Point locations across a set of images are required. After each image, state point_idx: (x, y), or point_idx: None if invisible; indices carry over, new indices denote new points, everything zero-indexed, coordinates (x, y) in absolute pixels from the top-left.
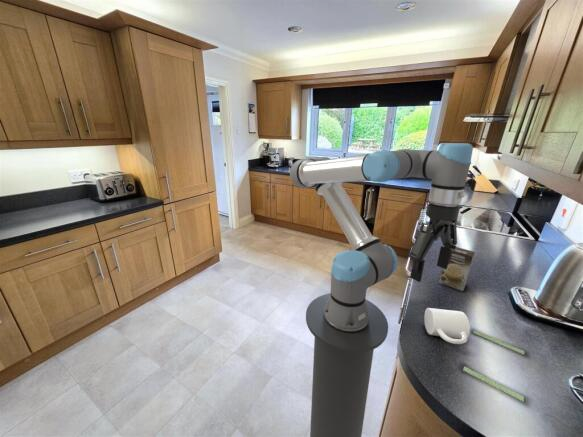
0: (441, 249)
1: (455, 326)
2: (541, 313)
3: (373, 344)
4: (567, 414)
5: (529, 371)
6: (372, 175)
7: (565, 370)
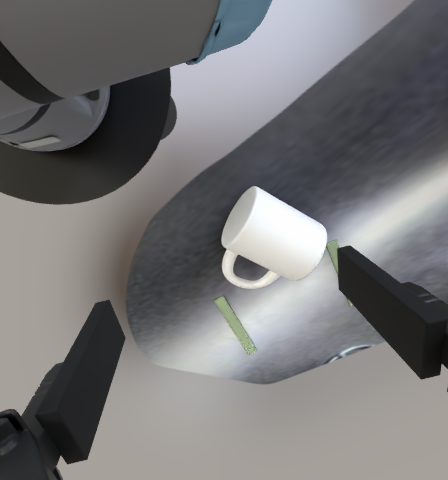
0: (409, 315)
1: (267, 268)
2: None
3: (72, 200)
4: (282, 373)
5: (317, 326)
6: None
7: (369, 337)
